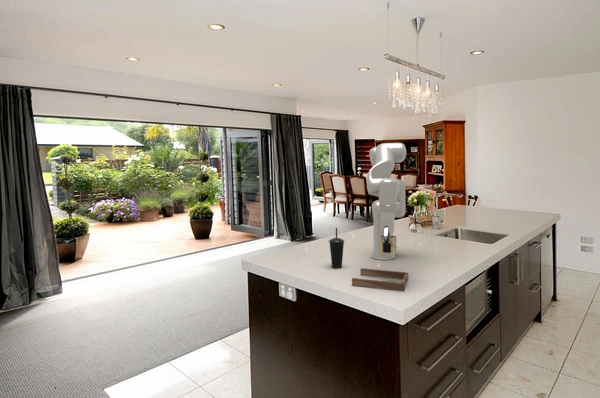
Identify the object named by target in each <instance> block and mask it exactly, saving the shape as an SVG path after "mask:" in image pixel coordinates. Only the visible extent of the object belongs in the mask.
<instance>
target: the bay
mask: <svg viewBox="0 0 600 398" xmlns="http://www.w3.org/2000/svg"><path fill="white" fill-rule="evenodd" d="M359 269H360V270H359V273H360V275H359V276H363V277H373V278H375V277H376V278H386V279H392V280H393V279H394V280H395V279H396V280H401V282H396V281H386V280H375V279H367V278H357V277H351V285H352V286H351V287H361V288H369V289H378V290H387V291H388V290H389V291H397V292H405V290H406V287H407V283H408V280H409V272H406V271H397V270H396V271H395V270H384V269H383V270H382V269H374V268H363V267H361V268H359Z"/></svg>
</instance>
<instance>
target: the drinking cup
mask: <svg viewBox="0 0 600 398" xmlns="http://www.w3.org/2000/svg"><path fill="white" fill-rule="evenodd" d="M328 243H329V249H330V251H329V252H330V259H331V268H332V269H337V270H338V269H342V267H343V255H344V243H345V240H344V239H343V238H340V237H338V227H335V237H333V238H331V239H329V240H328Z"/></svg>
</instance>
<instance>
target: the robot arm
mask: <svg viewBox="0 0 600 398" xmlns="http://www.w3.org/2000/svg"><path fill="white" fill-rule="evenodd" d="M368 155H369V160H370V163H371V165H372V167H371V168H370V169H369V171H368V172H367V176H366V189H367V192H368V194H369V195H371V196H377V198H378V199H377V200H375V201H373V202H372V203H371V211H372V212H371V213H372V220H373V221H372V222H373V253H371V254H370V257H371V258H372V259H373V260H378V261H389V260H393V259H395V255H385V254H380V237H381V236H382V235H384V236H383V252H385V253H391V243H390V237H391V236H394V233H395V226H396V225H395V224H396V223H395V220H396V219H395V218H403V217H404V216H405V214H406V184H405V182H404V181H403V180H402V179H397V178H396V177H392V176H391V174H392V172H393V171H394V169H395V165H396V164H395V163H398V164H399V163H402V162H403V161H404V160H405V159H406V157H407V149H406V146H405V144H404V143H403V142H384V143H380V144H378V145H377V146H374V147H372V148H371V149H369V154H368ZM387 235H389V236H387ZM388 238H389V239H388Z"/></svg>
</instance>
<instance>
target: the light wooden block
mask: <svg viewBox="0 0 600 398" xmlns="http://www.w3.org/2000/svg"><path fill="white" fill-rule="evenodd" d="M383 236H384V235H382V236H381V237H380V254H385V255H394V256H395V255H396V253H397V235H393V236H391V237H390V243H391V253H385V252H383ZM387 236H389V235H387ZM388 239H389V238H388Z"/></svg>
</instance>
